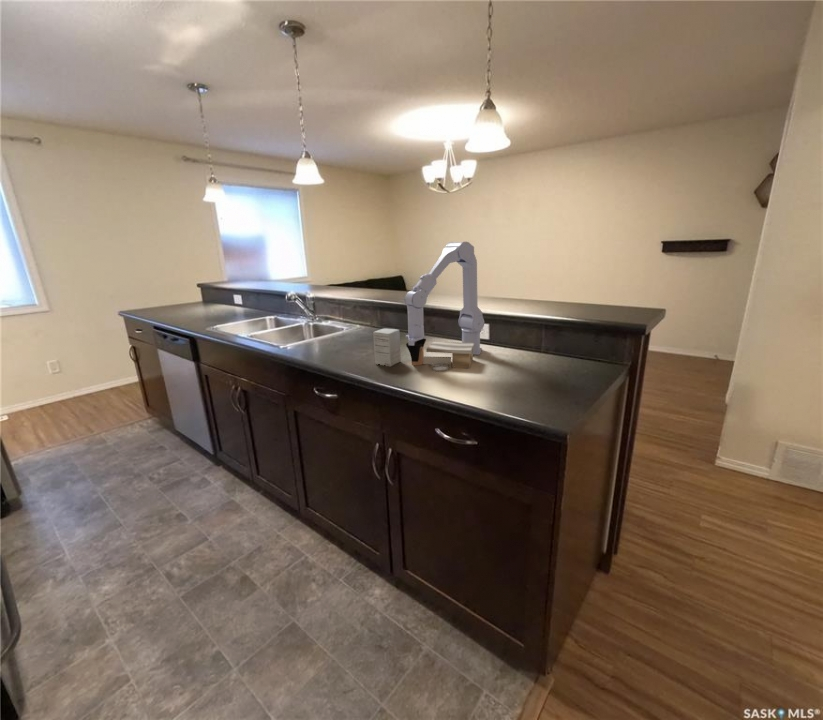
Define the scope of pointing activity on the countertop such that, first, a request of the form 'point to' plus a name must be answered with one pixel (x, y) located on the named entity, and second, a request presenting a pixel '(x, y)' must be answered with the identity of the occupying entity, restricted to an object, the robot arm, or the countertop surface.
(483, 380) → the countertop surface
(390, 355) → the grey drawer cabinet
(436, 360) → the blade tool
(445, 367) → the disc
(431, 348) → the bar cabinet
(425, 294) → the robot arm
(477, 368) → the countertop surface
